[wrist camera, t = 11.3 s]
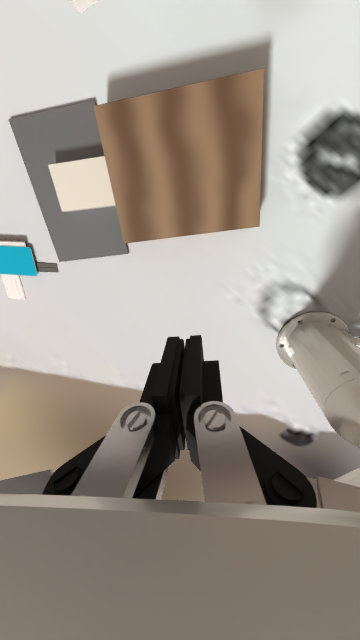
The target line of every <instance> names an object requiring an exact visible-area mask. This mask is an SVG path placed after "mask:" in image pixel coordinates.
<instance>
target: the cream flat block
mask: <svg viewBox="0 0 360 640" xmlns="http://www.w3.org/2000/svg"><path fill="white" fill-rule="evenodd" d="M48 167H49V170H50V173H51V177H52V180H53V183H54V187H55V190H56V193H57V197H58V200H59V203H60V207H61V210H62V212H70V211H78V210H86V209H94V208H103V207H111V206H116V205H115V201H114V196H113V192H112V187H111V183H110V178H109V174H108V169H107V165H106V160H105V156H102V157H95V158H89V159H83V160H76V161H70V162H63V163H57V164H50V165H48Z"/></svg>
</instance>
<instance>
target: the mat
mask: <svg viewBox="0 0 360 640" xmlns="http://www.w3.org/2000/svg"><path fill="white" fill-rule="evenodd" d="M93 106H96V101H95V100H91V101H87V102H82V103H78V104H74V105H69V106H65V107H60V108H56V109H51V110H47V111H43V112H38V113H34V114H29V115H25V116H21V117H16V118H12V119H9V122H10V125H11V127H12V130H13V133H14V136H15V138H16V141H17V144H18V147H19V150H20V152H21V155H22V158H23V161H24V164H25V166H26V169H27V172H28V175H29V178H30V180H31V183H32V186H33V189H34V192H35V194H36V197H37V200H38V203H39V206H40V208H41V211H42V214H43V217H44V220H45V222H46V225H47V228H48V231H49V234H50V236H51V239H52V242H53V245H54V248H55V250H56V253H57V256H58V259H59V262H62V261H70V260H79V259H87V258H95V257H104V256H112V255H121V254H128V253H129V252H128V248H127V243H124V241H123V236H122V232H121V227H120V223H119V218H118V214H117V209H116V206H111V207H103V208H94V209H86V210H78V211H70V212H62V210H61V207H60V203H59V200H58V197H57V193H56V190H55V187H54V183H53V180H52V177H51V173H50V170H49V167H48V165H50V164H57V163H63V162H70V161H76V160H83V159H89V158H95V157H102V156H104V151H103V147H102V142H101V138H100V133H99V129H98V125H97V120H96V116H95V111H94V107H93Z"/></svg>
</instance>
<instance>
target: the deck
mask: <svg viewBox="0 0 360 640" xmlns="http://www.w3.org/2000/svg"><path fill="white" fill-rule="evenodd" d="M263 93H264V68H263V69H258V70H254V71H249V72H245V73H240V74H236V75H231V76H227V77H222V78H218V79H213V80H209V81H204V82H200V83H195V84H191V85H186V86H182V87H177V88H173V89H168V90H164V91H159V92H155V93H150V94H146V95H141V96H137V97H132V98H128V99H123V100H119V101H114V102H110V103H105V104H101V105H96V106H93V107H94V111H95V116H96V120H97V125H98V129H99V133H100V138H101V142H102V147H103V151H104V156H105V160H106V165H107V169H108V174H109V178H110V183H111V187H112V192H113V196H114V201H115V205H116V209H117V214H118V218H119V223H120V227H121V232H122V236H123V241H124V243H131V242H139V241H147V240H155V239H163V238H171V237H179V236H187V235H195V234H203V233H211V232H219V231H227V230H235V229H243V228H251V227H259V224H260V191H261V159H262V126H263Z"/></svg>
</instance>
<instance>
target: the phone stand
mask: <svg viewBox="0 0 360 640" xmlns="http://www.w3.org/2000/svg"><path fill="white" fill-rule="evenodd" d="M5 240H6V239H5ZM14 240H15V239H14ZM23 240H24V239H23ZM25 242H27V241H20V240H19V241H8V240H6V241H4V240H0V274H1V277H2V280H3V283H4V286H5V289H6V292H7V295H8V298H11V299H26V297H25V293H24V290H23V287H22V283H21V280H20V277H19V275H26V276H37V274H38V273H37V271H39V272H58V269H57V265H56V264H49V263H38V262H37V261H36V257H35V256H33V254H32V250H31V248H30V247H26V245H25ZM22 246H23V247H22ZM46 267H51V268H46Z"/></svg>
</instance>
